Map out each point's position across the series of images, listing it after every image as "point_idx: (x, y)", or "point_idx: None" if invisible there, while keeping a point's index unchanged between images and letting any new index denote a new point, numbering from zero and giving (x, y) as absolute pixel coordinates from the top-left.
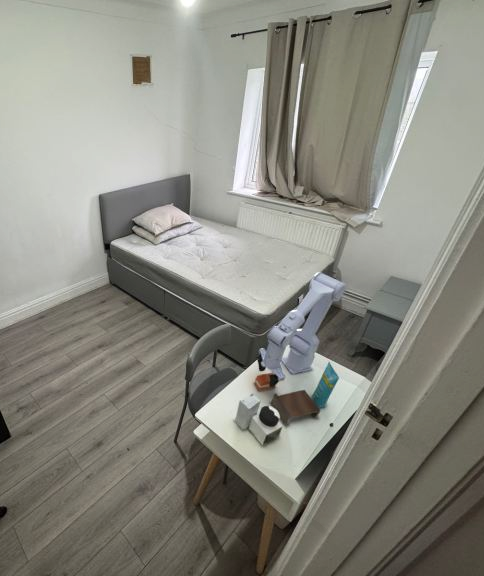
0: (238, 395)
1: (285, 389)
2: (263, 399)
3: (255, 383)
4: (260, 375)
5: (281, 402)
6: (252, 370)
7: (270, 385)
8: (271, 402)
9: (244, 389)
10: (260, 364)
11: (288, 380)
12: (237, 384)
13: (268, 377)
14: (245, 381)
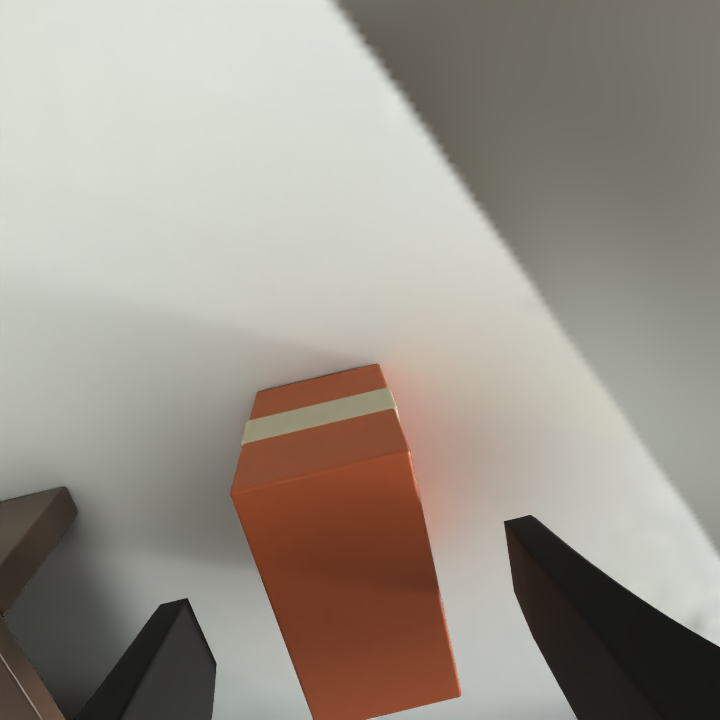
0: (144, 44)
1: (292, 666)
2: (120, 414)
3: (360, 378)
4: (410, 517)
5: None
6: (599, 393)
7: (130, 646)
8: (50, 502)
9: (274, 188)
10: (626, 687)
11: (409, 712)
12: (372, 92)
13: (360, 626)
14: (424, 245)
